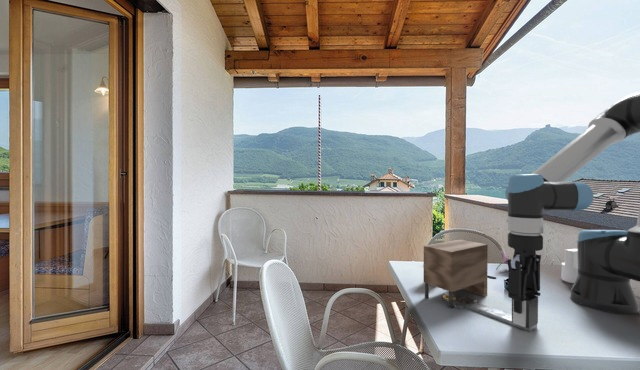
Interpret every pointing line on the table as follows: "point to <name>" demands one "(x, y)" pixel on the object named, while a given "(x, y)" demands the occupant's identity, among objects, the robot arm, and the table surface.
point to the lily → (504, 258)
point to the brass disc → (446, 297)
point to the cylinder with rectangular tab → (570, 266)
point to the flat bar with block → (502, 316)
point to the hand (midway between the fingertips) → (524, 321)
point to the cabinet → (456, 267)
